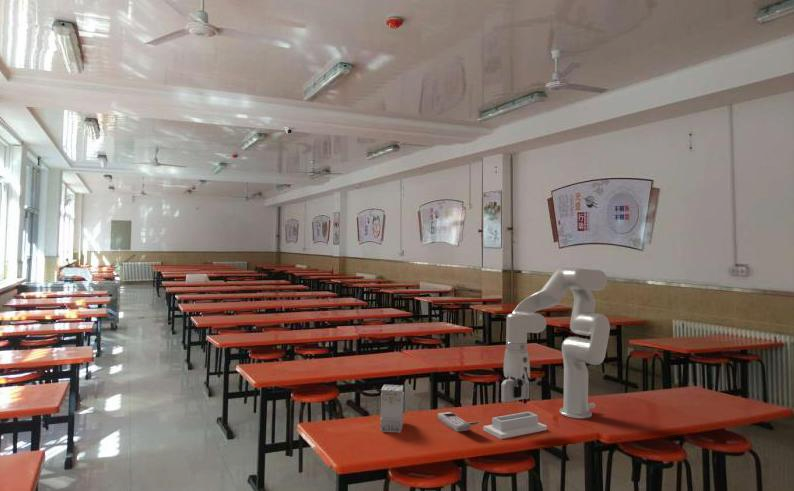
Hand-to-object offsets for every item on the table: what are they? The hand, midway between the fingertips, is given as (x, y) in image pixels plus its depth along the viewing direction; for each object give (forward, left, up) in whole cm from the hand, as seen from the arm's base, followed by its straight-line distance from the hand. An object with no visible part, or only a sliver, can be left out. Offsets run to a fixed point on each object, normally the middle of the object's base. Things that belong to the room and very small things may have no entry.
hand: (515, 396), depth 188 cm
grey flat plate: (0, 0, -2) cm, 2 cm away
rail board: (0, 0, -13) cm, 13 cm away
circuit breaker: (+39, -24, -13) cm, 47 cm away
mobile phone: (+18, -12, -13) cm, 25 cm away
